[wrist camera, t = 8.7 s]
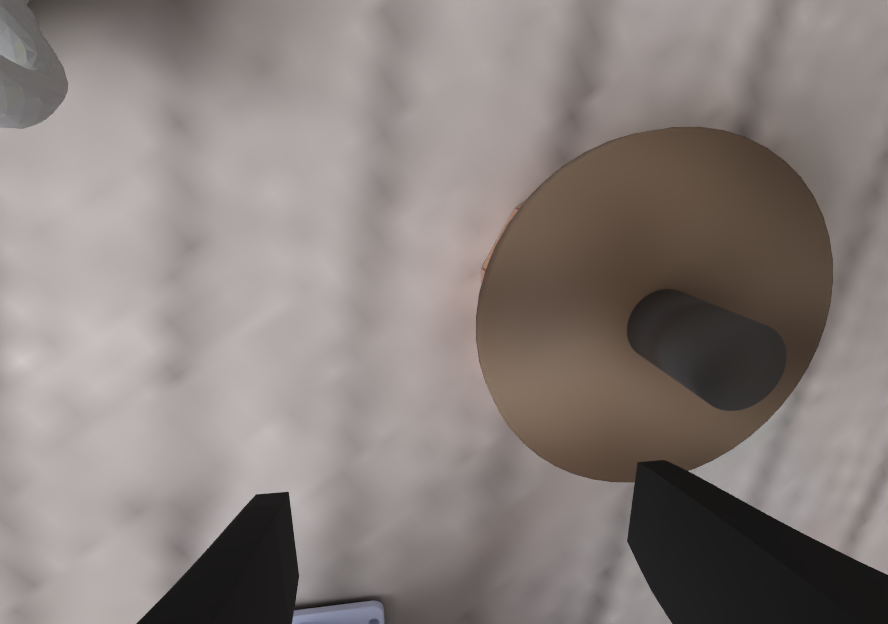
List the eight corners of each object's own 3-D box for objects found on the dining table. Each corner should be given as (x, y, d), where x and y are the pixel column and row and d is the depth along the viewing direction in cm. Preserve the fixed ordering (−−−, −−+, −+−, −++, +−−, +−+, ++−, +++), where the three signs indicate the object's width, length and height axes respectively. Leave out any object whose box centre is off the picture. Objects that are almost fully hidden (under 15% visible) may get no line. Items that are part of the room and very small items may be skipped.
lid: (764, 462, 18) (876, 547, 14) (466, 475, 16) (492, 573, 12) (854, 140, 15) (1036, 126, 10) (488, 117, 13) (535, 91, 9)
